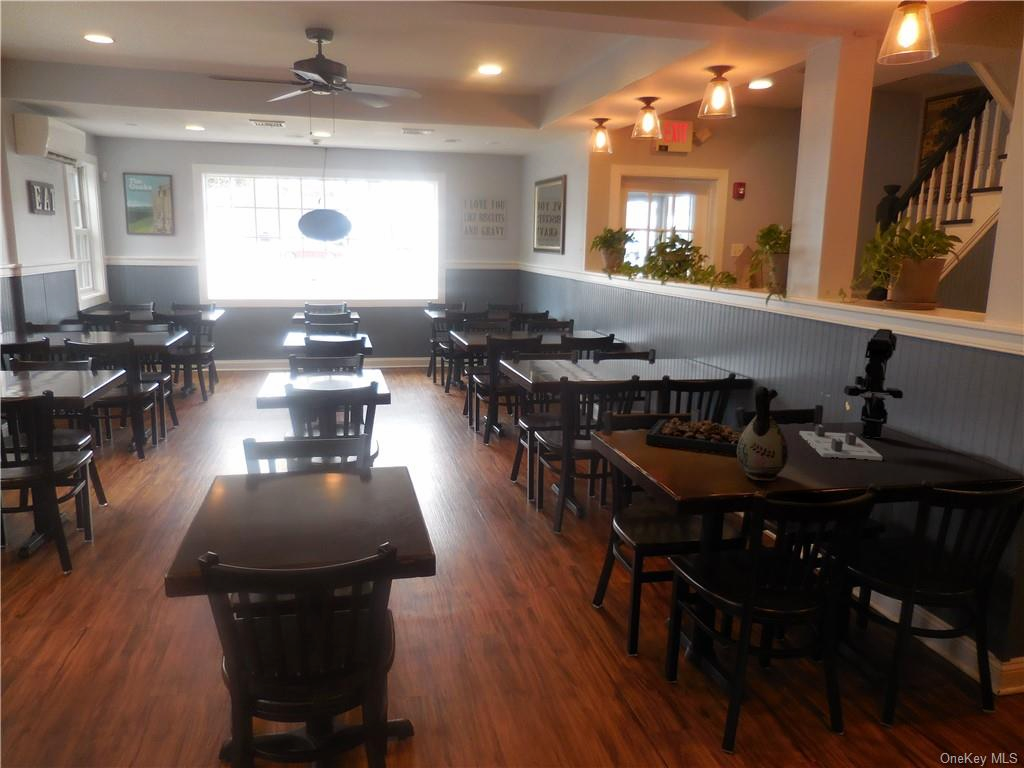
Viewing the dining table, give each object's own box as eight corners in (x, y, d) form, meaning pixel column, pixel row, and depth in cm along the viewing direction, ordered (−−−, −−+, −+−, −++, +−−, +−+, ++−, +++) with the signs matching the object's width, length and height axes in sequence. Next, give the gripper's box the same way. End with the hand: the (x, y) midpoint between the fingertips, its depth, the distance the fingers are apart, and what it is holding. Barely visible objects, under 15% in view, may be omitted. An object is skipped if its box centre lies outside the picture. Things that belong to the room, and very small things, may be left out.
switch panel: (852, 437, 280) (852, 433, 280) (881, 460, 251) (882, 456, 251) (799, 434, 283) (799, 430, 282) (822, 456, 253) (823, 452, 253)
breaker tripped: (851, 441, 268) (853, 432, 267) (855, 444, 264) (856, 435, 263) (844, 441, 268) (846, 432, 267) (848, 444, 264) (849, 434, 264)
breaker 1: (821, 433, 279) (822, 424, 278) (824, 436, 275) (825, 427, 274) (814, 433, 279) (815, 424, 278) (817, 435, 275) (818, 426, 274)
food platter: (777, 445, 269) (780, 418, 267) (775, 463, 247) (778, 434, 245) (658, 430, 286) (660, 405, 283) (645, 445, 263) (647, 418, 261)
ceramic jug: (745, 466, 240) (754, 378, 234) (791, 476, 231) (802, 385, 225) (724, 478, 227) (733, 385, 221) (773, 489, 218) (783, 393, 212)
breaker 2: (838, 448, 259) (839, 438, 258) (841, 451, 255) (843, 441, 254) (830, 447, 259) (832, 438, 259) (834, 450, 255) (835, 441, 255)
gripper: (894, 370, 267) (888, 411, 270) (841, 367, 269) (836, 408, 272) (906, 376, 256) (900, 418, 259) (851, 373, 258) (846, 415, 262)
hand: (870, 414), depth 263 cm, fingers closed
